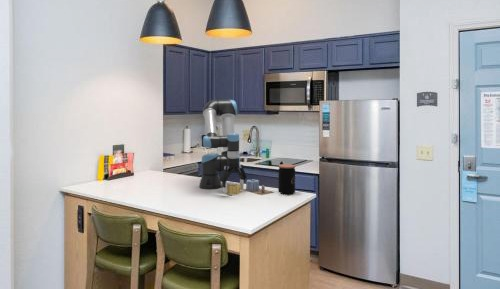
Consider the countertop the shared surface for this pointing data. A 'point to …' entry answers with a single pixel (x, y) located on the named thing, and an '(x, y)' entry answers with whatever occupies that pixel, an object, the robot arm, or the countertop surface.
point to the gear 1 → (233, 189)
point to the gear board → (260, 191)
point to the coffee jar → (286, 179)
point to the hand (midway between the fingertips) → (233, 191)
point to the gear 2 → (252, 185)
